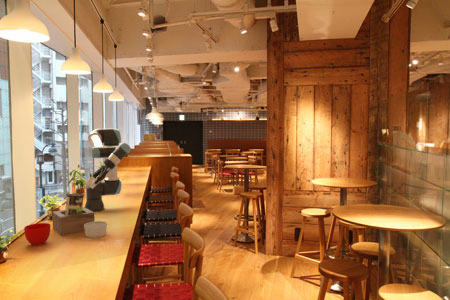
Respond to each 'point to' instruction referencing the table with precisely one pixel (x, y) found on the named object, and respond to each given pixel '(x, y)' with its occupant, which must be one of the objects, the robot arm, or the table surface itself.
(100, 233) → the ramekin
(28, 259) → the table surface
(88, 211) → the brown square bin
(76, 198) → the coffee can
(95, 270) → the table surface
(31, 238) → the ceramic cup
